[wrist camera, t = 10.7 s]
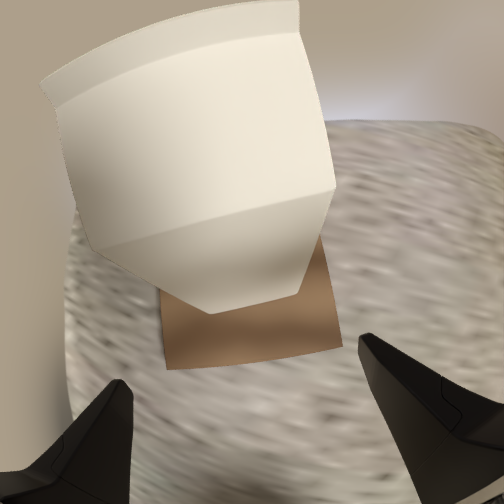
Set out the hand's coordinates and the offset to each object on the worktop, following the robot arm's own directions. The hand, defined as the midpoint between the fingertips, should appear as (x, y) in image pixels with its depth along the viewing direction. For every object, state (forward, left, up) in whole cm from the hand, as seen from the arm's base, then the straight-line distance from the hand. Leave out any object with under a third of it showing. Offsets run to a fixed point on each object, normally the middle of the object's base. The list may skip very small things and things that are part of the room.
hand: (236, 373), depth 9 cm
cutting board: (+5, +6, -13) cm, 15 cm away
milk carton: (+5, +5, -12) cm, 14 cm away
